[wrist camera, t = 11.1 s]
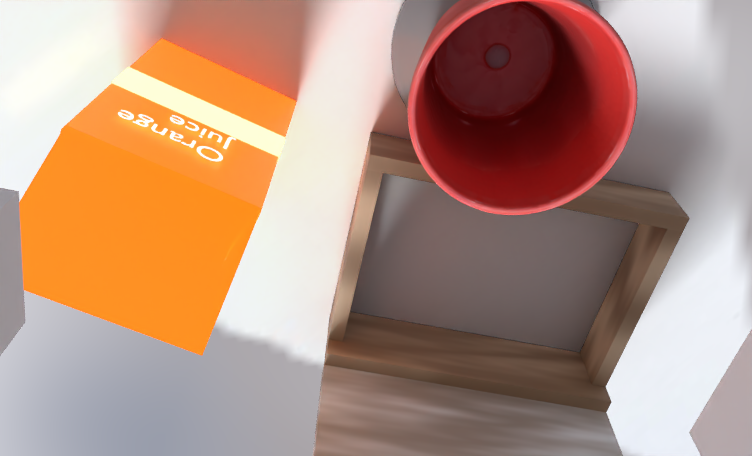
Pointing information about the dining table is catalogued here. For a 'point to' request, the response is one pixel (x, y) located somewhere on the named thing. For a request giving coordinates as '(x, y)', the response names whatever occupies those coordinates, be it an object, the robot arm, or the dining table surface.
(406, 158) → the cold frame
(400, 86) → the slate saucer
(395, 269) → the dining table surface
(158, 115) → the orange juice
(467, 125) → the flower pot
